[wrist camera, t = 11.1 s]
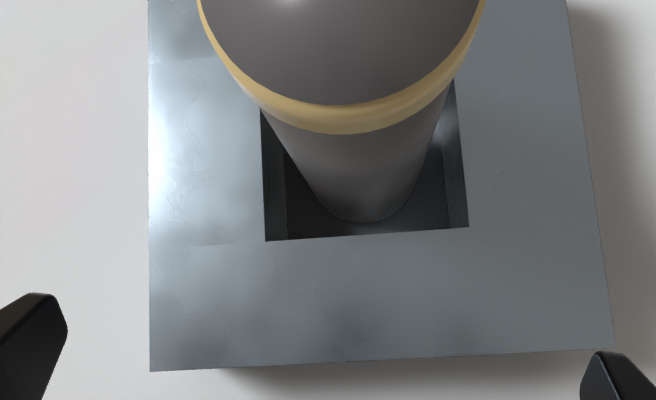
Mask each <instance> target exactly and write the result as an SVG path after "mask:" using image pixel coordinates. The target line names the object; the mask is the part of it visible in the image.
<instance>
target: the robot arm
mask: <svg viewBox="0 0 656 400" xmlns="http://www.w3.org/2000/svg"><path fill="white" fill-rule="evenodd" d="M67 333H68V329H67V324H66V321H65V319H64V316H63V314H62V311H61V309H60V306H59V304H58V301H57V299H56V298H55V297H54V296H53V295H51V294H43V293H28V294H26V295H24V296H22V297H20V298H19V299H17V300H15V301H14V302H12V303H10V304H9V305H7V306H5V307H4V308H2V309H0V400H42V397H43V395H44V393H45V390H46V388H47V385H48V383H49V380H50V378H51V376H52V373H53V371H54V368H55V366H56V363H57V361H58V359H59V356H60V354H61V351H62V349H63V346H64V344H65V342H66V339H67ZM580 400H656V387H655V386H654V384H653V383H652V382H651V381H650V380H649V379H648V378H647V377H646V376H645V375H644V374H643V373H642V372H641V371H640V370H639V369H638V368H637V367H636V366H635V364H634V363H633V362H632V361H631V360H630V359H629V358H628V357H626V356H625V355H623V354H620V353H613V352H603V351H598V352H596V353H594V354H593V356H592V358H591V360H590V363H589V365H588V367H587V370H586V372H585V374H584V377H583V379H582V381H581V384H580Z"/></svg>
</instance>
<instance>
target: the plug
mask: <svg viewBox="0 0 656 400" xmlns="http://www.w3.org/2000/svg"><path fill="white" fill-rule="evenodd" d="M485 2H486V0H197V5H198V10H199V14H200V19H201V21H202V24H203V27H204V29H205V32H206V34H207V36H208V38H209V40H210V42H211V44H212V45H213V47H214V49H215V51H216V52H217V54H218V55H219V57H220V58H221V60H222V61H223V63H224V64H225V66H226V67H227V69H228V70H229V72H230V73H231V75H232V76H233V78H234V79H235V81H236V82H237V83H238V85H239V86H240V87H241V89H242V90H243V91H244V92H245V93H246V94H247V95H248V96H249V98H250V99H251V100H252V101H253V102H254V103H255V104H257V105H258V106H259V108H260V109H261V111H262V113H263V114H264V116H265V117H266V119H267V120H268V122H269V124H270V125H271V127H272V128H273V130H274V131H275V133H276V135H277V136H278V138H279V139H280V141H281V142H282V144H283V146H284V147H285V149H286V150H287V152H288V153H289V155H290V157H291V158H292V160H293V161H294V163H295V164H296V166H297V168H298V169H299V171H300V172H301V174H302V175H303V177H304V179H305V180H306V182H307V183H308V185H309V186H310V188H311V190H312V191H313V193H314V194H315V196H316V197H317V199H318V200H319V202H320V203H321V204H322V205H323V206H324V207H325V208H326V209H327V210H328V211H330V212H331V213H332V214H334V215H336V216H337V217H340V218H342V219H344V220H348V221H352V222H363V223H366V222H374V221H378V220H381V219H383V218H386V217H388V216H390V215H392V214H393V213H395V212H396V211H397V210H399V209H400V208H401V207H402V206H403V205H404V204H405V203H406V201H407V200H408V199H409V197H410V195H411V194H412V192H413V189H414V187H415V184H416V182H417V179H418V176H419V173H420V170H421V167H422V164H423V161H424V159H425V156H426V153H427V150H428V147H429V144H430V141H431V139H432V136H433V133H434V130H435V127H436V124H437V121H438V118H439V116H440V113H441V110H442V107H443V104H444V101H445V98H446V95H447V93H448V90H449V87H450V84H451V81H452V79H453V78H454V77H455V75H456V73H457V72H458V70H459V68H460V67H461V65H462V63H463V61H464V59H465V57H466V54H467V52H468V50H469V47H470V45H471V42H472V39H473V37H474V34H475V31H476V29H477V26H478V23H479V21H480V18H481V15H482V13H483V9H484V6H485Z"/></svg>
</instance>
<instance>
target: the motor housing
mask: <svg viewBox="0 0 656 400" xmlns="http://www.w3.org/2000/svg"><path fill="white" fill-rule="evenodd" d="M148 89H149V309H150V372H156V371H176V370H195V369H215V368H234V367H254V366H273V365H292V364H312V363H331V362H351V361H370V360H390V359H409V358H429V357H448V356H468V355H487V354H507V353H526V352H546V351H565V350H585V349H604V348H616V342H615V336H614V329H613V322H612V315H611V308H610V301H609V294H608V288H607V281H606V274H605V267H604V260H603V253H602V247H601V240H600V233H599V226H598V219H597V212H596V205H595V199H594V192H593V185H592V178H591V171H590V164H589V158H588V151H587V144H586V137H585V130H584V123H583V116H582V110H581V103H580V96H579V89H578V82H577V75H576V69H575V62H574V55H573V48H572V41H571V34H570V27H569V21H568V14H567V7H566V0H486V2H485V6H484V9H483V13H482V15H481V18H480V21H479V23H478V26H477V29H476V31H475V34H474V37H473V39H472V42H471V45H470V47H469V50H468V52H467V54H466V57H465V59H464V61H463V63H462V65H461V67H460V68H459V70H458V72H457V73H456V75H455V77H454V78H453V79H452V81H451V84H450V87H449V90H448V93H447V95H446V98H445V101H444V104H443V107H442V110H441V113H440V116H439V124H440V134H441V144H442V154H443V164H444V174H445V184H446V194H447V204H448V214H449V225H450V229H439V230H425V231H410V232H396V233H382V234H368V235H353V236H339V237H325V238H311V239H296V240H288V235H287V214H286V193H285V172H284V151H283V144H282V142H281V141H280V139H279V138H278V136H277V135H276V133H275V131H274V130H273V128H272V127H271V125H270V124H269V122H268V120H267V119H266V117H265V116H264V114H263V113H262V111H261V109H260V108H259V106H258V105H257V104H255V103H254V102H253V101H252V100H251V99H250V98H249V96H248V95H247V94H246V93H245V92H244V91H243V90H242V89H241V87H240V86H239V85H238V83H237V82H236V81H235V79H234V78H233V76H232V75H231V73H230V72H229V70H228V69H227V67H226V66H225V64H224V63H223V61H222V60H221V58H220V57H219V55H218V54H217V52H216V51H215V49H214V47H213V45H212V44H211V42H210V40H209V38H208V36H207V34H206V32H205V29H204V27H203V24H202V21H201V19H200V14H199V10H198V5H197V0H148Z"/></svg>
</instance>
